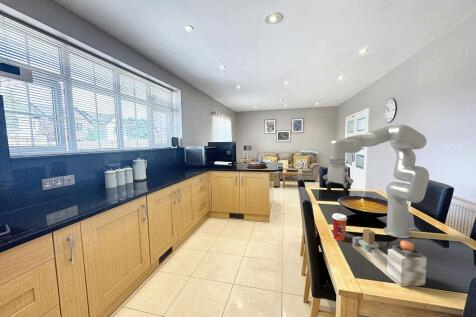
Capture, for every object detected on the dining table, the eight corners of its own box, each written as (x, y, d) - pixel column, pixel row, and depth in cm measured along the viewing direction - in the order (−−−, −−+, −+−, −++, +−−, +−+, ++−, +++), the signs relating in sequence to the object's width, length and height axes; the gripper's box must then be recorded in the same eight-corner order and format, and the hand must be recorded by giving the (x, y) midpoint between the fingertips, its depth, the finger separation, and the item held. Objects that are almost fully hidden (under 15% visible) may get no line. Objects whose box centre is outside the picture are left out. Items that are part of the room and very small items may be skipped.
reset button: (406, 245, 77) (407, 240, 77) (416, 251, 73) (416, 245, 73) (397, 246, 77) (397, 240, 77) (406, 251, 73) (407, 245, 73)
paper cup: (341, 243, 104) (341, 219, 103) (328, 237, 111) (329, 214, 110) (349, 239, 108) (350, 216, 107) (337, 234, 115) (337, 212, 114)
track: (370, 245, 101) (371, 222, 100) (425, 285, 73) (427, 253, 72) (352, 246, 101) (353, 223, 100) (400, 286, 72) (402, 254, 71)
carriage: (371, 245, 99) (371, 228, 98) (378, 250, 94) (379, 232, 93) (358, 245, 98) (358, 228, 97) (365, 251, 93) (365, 233, 92)
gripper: (357, 163, 98) (356, 194, 100) (327, 160, 113) (327, 188, 115) (349, 164, 95) (348, 197, 96) (319, 161, 109) (319, 190, 111)
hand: (336, 192), depth 105 cm, fingers open, 9 cm apart
